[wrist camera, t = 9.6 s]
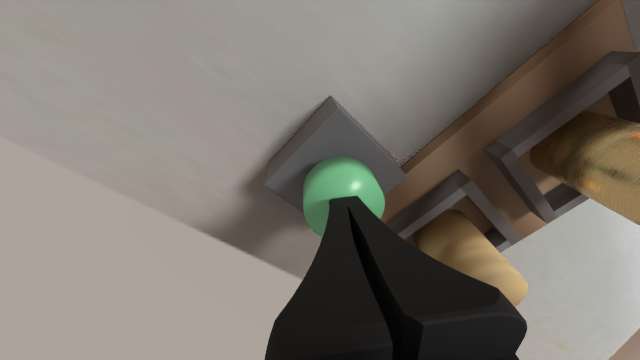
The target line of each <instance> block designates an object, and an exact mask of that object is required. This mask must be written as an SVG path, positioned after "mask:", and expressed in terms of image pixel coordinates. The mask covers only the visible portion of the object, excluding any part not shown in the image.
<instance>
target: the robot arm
mask: <svg viewBox="0 0 640 360" xmlns="http://www.w3.org/2000/svg"><path fill="white" fill-rule="evenodd" d="M526 331H527V324H526V321H525V319H524V318H523V317H522V316H521V315H520V313H519V312H518V311H517V309H516V308H515V307H514V306H513V304H512V303H511V302H510V301H509V300H508V299H507V298H506V296H505V295H504V294H503V293H502V292H501V291H500V290H499V289H498V288H497V287H494V286H492V285H489V284H487V283H485V282H482V281H480V280H477V279H475V278H473V277H470V276H468V275H466V274H464V273H461V272H459V271H457V270H455V269H453V268H451V267H449V266H447V265H445V264H443V263H441V262H440V261H438V260H436V259H434V258H432V257H431V256H429V255H427V254H426V253H424V252H422V251H421V250H419V249H417V248H416V247H414V246H413V245H411V244H410V243H408V242H407V241H406V240H404V239H403V238H402V237H400V236H399V235H398V234H396V233H395V232H394V231H393V230H392V229H390V228H389V227H388V226H387V225H386V224H385V223H384V222H382V221H381V220H380V219H379V218H378V217H377V216H376V215H375V214H374V213H373V212H372V211H371V210H370V209H369V208H368V207H367V206H366V205H365V204H364V202H363V201H362V200H361V199H360V198H359V197H358V196H350V197H342V198H335V199H331V200H330V201H329V215H328V220H327V224H326V228H325V232H324V235H323V238H322V241H321V244H320V246H319V249H318V251H317V254H316V256H315V258H314V260H313V262H312V264H311V266H310V268H309V270H308V272H307V274H306V276H305V277H304V279H303V281H302V282H301V284H300V286H299V287H298V289H297V290H296V292H295V294H294V295H293V297H292V298H291V300H290V301H289V302H288V303H287V305H286V306H285V308H284V309H283V310H282V312H281V313H280V314H279V316H278V317H277V318H276V320H275V322H274V325H273V328H272V331H271V334H270V338H269V341H268V346H267V350H266V355H265V360H519V359H518V357H517V356H516V354H515V353H516V351H517V349H518V348H519V346H520V344H521V342H522V341H523V339H524V337H525V334H526Z"/></svg>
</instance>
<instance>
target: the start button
mask: <svg viewBox="0 0 640 360" xmlns="http://www.w3.org/2000/svg"><path fill="white" fill-rule="evenodd" d="M350 196H358V197H359V198H360V199H361V200H362V201H363V202H364V204H365V205H366V206H367V207H368V208H369V209H370V210H371V211H372V212H373V213H374V214H375V215H376V216H377V217H378V218H379V219H380V218H381V216H382V214H383V212H384V207H385V199H384V195H383V192H382V190H381V188H380V187H379V185H378V183H377V181H376V179H375V177H374V175H373V174H372V172H371V170H370V169H369V168H368V167H367V166H366V165H365V164H364V163H363V162H361V161H359V160H357V159H354V158H350V157H334V158H329V159H327V160H324V161H322V162H320V163H319V164H317V165H316V166H315V167H314V168H313V169H312V170H311V171H310V172H309V173H308V175H307V176H306V179H305V181H304V185H303V211H304V217H305V220H306V222H307V224H308V225H309V227H310V228H311V229H312V230H313V231H314V232H316V233H317V234H319V235H320V236H323V235H324V232H325V228H326V224H327V220H328V215H329V201H330V200H331V199H335V198H342V197H350Z"/></svg>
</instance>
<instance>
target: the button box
mask: <svg viewBox="0 0 640 360" xmlns="http://www.w3.org/2000/svg"><path fill="white" fill-rule="evenodd" d="M334 157H350V158H354V159H357V160H359V161H361V162H363V163H364V164H365V165H366V166H367V167H368V168H369V169H370V170H371V172H372V174H373V175H374V177H375V179H376V181H377V183H378V185H379V187H380V188H381V190H382V192H383V195H385V194H387V193H388V192H389V191H390V190H392V189H393V188H394V187H395V186H396V185H398V184H399V183H400V182H401V181H403V180H404V179H405V178H406V177H407V175H406V174H405V173H404V171H403V170H402V169H401V168H400V166H399V165H398V164H397V163H396V161H395V160H394V159H393V157H392V156H391V155H390V154H389V153H388V152H387V151H386V150H385V149H384V148H383V147H382V146H381V145H380V144H379V143H378V142H377V141H376V140H375V139H374V138H373V137H372V136H371V135H370V134H369V133H368V132H367V131H366V130H365V129H364V128H363V127H362V126H361V125H360V124H359V123H358V122H357V121H356V120H355V119H354V118H353V117H352V116H351V115H350V114H349V113H348V112H347V111H346V110H345V109H344V108H343V107H342V106H341V105H340V104H339V103H338V102H337V101H336V100H335V99H334V98H333V97H332V96H330V97H329V98H328V99H327V100H326V101H325V102H324V103H323V104H322V105H321V106H320V108H319V109H318V110H317V111H316V112H315V113H314V114H313V115H312V116H311V117H310V118H309V119H308V121H307V122H306V123H305V124H304V125H303V126H302V127H301V128H300V129H299V130H298V131H297V132H296V134H295V135H294V136H293V137H292V138H291V139H290V140H289V141H288V142H287V143H286V144H285V145H284V147H283V148H282V149H281V150H280V151H279V152H278V153H277V154H276V155H275V156H274V157H273V158H272V160H271V161H270V162H269V165H268V169H267V173H266V177H265V182H264V185H265V186H266V187H268V188H269V189H270V190H272V191H273V192H275V193H276V194H278V195H279V196H280V197H282V198H283V199H285V200H286V201H288V202H289V203H291V204H292V205H293V206H295V207H296V208H298V209H299V210H301V211H302V212H304V211H303V185H304V181H305V179H306V176H307V175H308V173H309V172H310V171H311V170H312V169H313V168H314V167H315V166H316V165H317V164H319V163H320V162H322V161H324V160H327V159H329V158H334Z"/></svg>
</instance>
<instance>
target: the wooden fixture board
mask: <svg viewBox="0 0 640 360" xmlns="http://www.w3.org/2000/svg"><path fill="white" fill-rule="evenodd" d="M583 110H587V111H591V112H595V113H599V114H603V115H607V116H611V117H615V118H619V119H623V120H627V121H631V122H635V123H639V124H640V52H635V48H634V45H633V41H632V38H631V34H630V31H629V27H628V24H627V20H626V16H625V13H624V9H623V6H622V2H621V0H599V1H597V2H596V3H595V4H594V5H593V6H591V7H590V8H589V9H588V10H587V11H585V12H584V13H583V14H582V15H581V16H580V17H578V18H577V19H576V20H575V21H574V22H572V23H571V24H570V25H569V26H568V27H567V28H565V29H564V30H563V31H562V32H561V33H559V34H558V35H557V36H556V37H555V38H553V39H552V40H551V41H550V42H549V43H548V44H546V45H545V46H544V47H543V48H542V49H540V50H539V51H538V52H537V53H536V54H535V55H533V56H532V57H531V58H530V59H529V60H527V61H526V62H525V63H524V64H523V65H521V66H520V67H519V68H518V69H517V70H516V71H514V72H513V73H512V74H511V75H510V76H508V77H507V78H506V79H505V80H504V81H503V82H501V83H500V84H499V85H498V86H497V87H495V88H494V89H493V90H492V91H491V92H490V93H488V94H487V95H486V96H485V97H484V98H482V99H481V100H480V101H479V102H478V103H476V104H475V105H474V106H473V107H472V108H471V109H469V110H468V111H467V112H466V113H465V114H463V115H462V116H461V117H460V118H459V119H458V120H456V121H455V122H454V123H453V124H452V125H450V126H449V127H448V128H447V129H446V130H444V131H443V132H442V133H441V134H440V135H439V136H437V137H436V138H435V139H434V140H433V141H431V142H430V143H429V144H428V145H427V146H426V147H424V148H423V149H422V150H421V151H420V152H418V153H417V154H416V155H415V156H414V157H412V158H411V159H410V160H409V161H408V162H407V163H405V164H404V165H403V166H402V167H401V169H402V170H403V171H404V173H405V174H406V175H407V177H406V178H405V179H404V180H403V181H401V182H400V183H399V184H398V185H396V186H395V187H394V188H393V189H392V190H390V191H389V192H388V193H387V194H385V195H384V199H385V207H384V212H383V214H382V216H381V218H380V220H381V221H382V222H384V223H385V224H386V225H387V226H388V227H389V228H390V229H392V230H393V231H394V232H395V233H396V234H398V235H399V236H400V237H402V238H403V239H404V240H406V241H407V242H408V243H410V244H411V245H413V246H414V247H416V248H417V249H419V250H421V251H422V252H424V253H426V254H427V255H429V256H431V257H432V258H434V259H436V260H438V261H440V262H441V263H443V264H445V265H447V266H449V267H451V268H453V269H455V270H457V271H459V272H461V273H464V274H466V275H468V276H470V277H473V278H475V279H477V280H480V281H482V282H485V283H487V284H489V285H492V286H494V287H497V288H498V289H499V290H500V291H501V292H502V293H503V294H504V295H505V296H506V298H507V299H508V300H509V301H510V302H511V303H512V304H513V306H514V307H515V306H516V305H518V304H519V303H520V302H521V301H522V300H523V298H524V297H525V295H526V294H527V291H528V284H527V282H526V280H525V279H524V278H523V277H522V276H521V275H520V274H519V273H518V272H517V271H516V270H515V268H514V267H513V266H512V265H511V264H510V263H509V262H508V261H507V260H506V259H505V258H504V257H503V256H502V255H501V253H500V252H502V251H504V250H505V249H507V248H509V247H510V246H512V245H514V244H515V243H517V242H519V241H520V240H522V239H523V238H525V237H527V236H528V235H530V234H532V233H533V232H535V231H537V230H538V229H540V228H542V227H543V226H545V225H546V224H548V223H550V222H551V221H553V220H555V219H556V218H558V217H560V216H561V215H563V214H565V213H566V212H568V211H569V210H571V209H573V208H574V207H576V206H578V205H579V204H581V203H583V202H584V201H586V200H588V199H589V197H587V196H585V195H584V194H582V193H580V192H578V191H576V190H575V189H573V188H571V187H569V186H567V185H565V184H564V183H562V182H560V181H558V180H556V179H555V178H553V177H551V176H549V175H547V174H545V173H544V172H542V171H540V170H538V169H536V168H535V167H534V166H533V165H532V163H531V160H530V151H531V148H532V147H533V146H535V145H536V144H537V143H539V142H540V141H541V140H543V139H544V138H546V137H547V136H548V135H550V134H551V133H553V132H554V131H555V130H557V129H558V128H559V127H561V126H562V125H564V124H565V123H566V122H568V121H569V120H571V119H572V118H573V117H575V116H576V115H577V114H579V113H580V112H582V111H583Z"/></svg>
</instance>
